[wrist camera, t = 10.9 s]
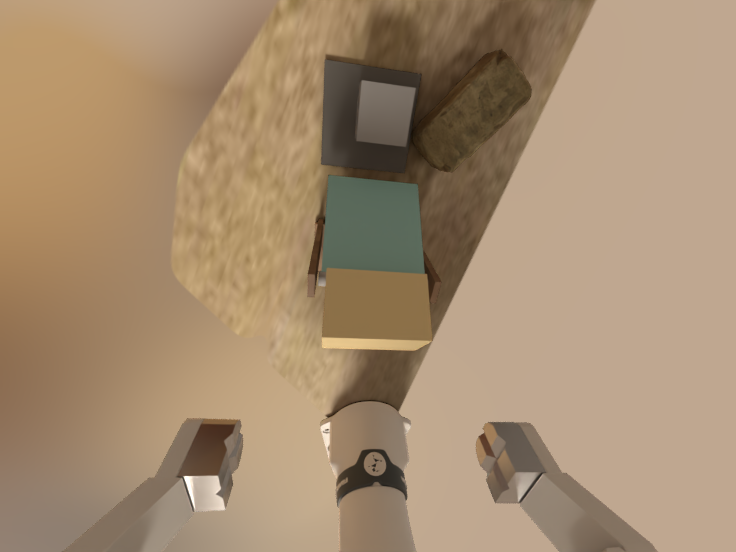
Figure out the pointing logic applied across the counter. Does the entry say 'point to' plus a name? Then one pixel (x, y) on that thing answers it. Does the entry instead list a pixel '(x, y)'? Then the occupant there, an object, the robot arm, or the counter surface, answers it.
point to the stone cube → (383, 113)
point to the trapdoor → (374, 267)
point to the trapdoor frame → (316, 266)
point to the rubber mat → (342, 118)
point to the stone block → (472, 111)
